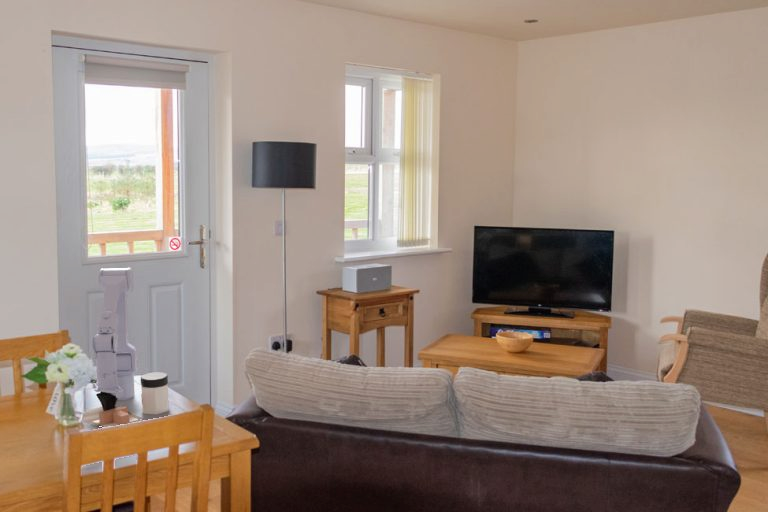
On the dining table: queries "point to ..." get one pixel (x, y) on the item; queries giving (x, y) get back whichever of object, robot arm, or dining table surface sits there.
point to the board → (93, 419)
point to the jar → (155, 393)
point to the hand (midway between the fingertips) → (109, 415)
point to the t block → (115, 415)
